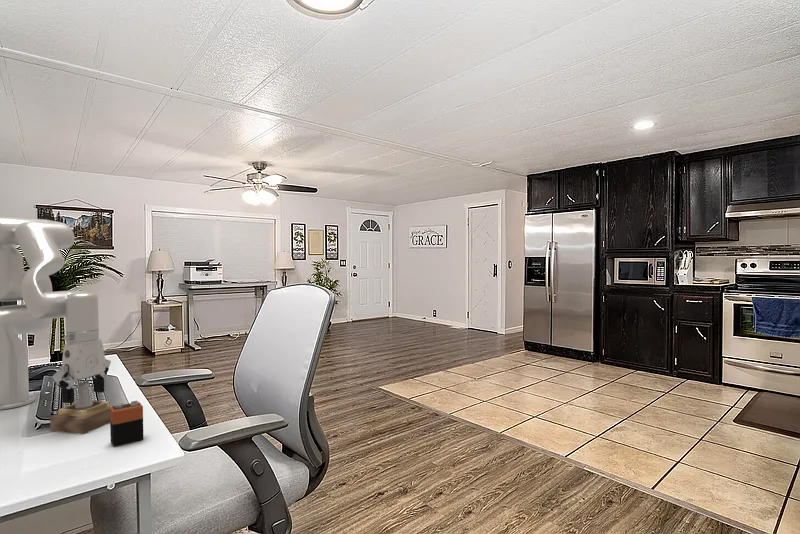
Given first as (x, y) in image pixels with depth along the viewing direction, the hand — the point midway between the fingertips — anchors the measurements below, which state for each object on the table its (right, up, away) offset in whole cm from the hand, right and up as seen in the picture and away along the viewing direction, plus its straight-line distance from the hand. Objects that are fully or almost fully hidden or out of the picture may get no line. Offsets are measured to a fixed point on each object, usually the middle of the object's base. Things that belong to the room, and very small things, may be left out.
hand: (84, 397), depth 128 cm
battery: (+19, -8, -11) cm, 23 cm away
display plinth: (0, -8, 0) cm, 8 cm away
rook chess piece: (0, -4, 0) cm, 4 cm away
